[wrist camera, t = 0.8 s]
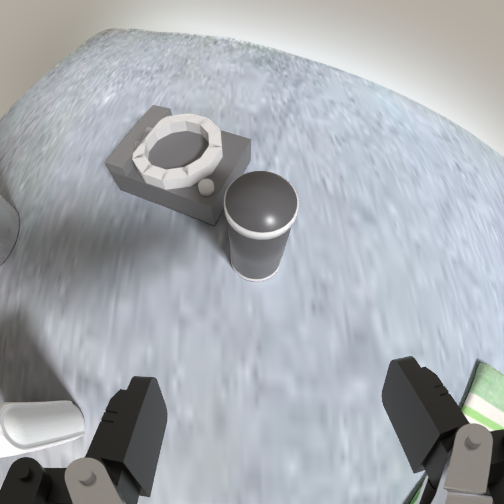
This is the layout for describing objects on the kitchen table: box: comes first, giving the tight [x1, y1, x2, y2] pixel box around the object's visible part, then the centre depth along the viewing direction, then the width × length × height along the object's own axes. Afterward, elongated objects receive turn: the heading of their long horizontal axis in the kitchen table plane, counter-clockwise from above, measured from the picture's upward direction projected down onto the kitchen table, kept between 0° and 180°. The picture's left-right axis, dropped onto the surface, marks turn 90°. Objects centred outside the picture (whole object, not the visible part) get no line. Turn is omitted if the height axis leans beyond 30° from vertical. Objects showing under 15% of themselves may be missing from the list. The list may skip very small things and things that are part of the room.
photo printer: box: [0, 400, 85, 457], centre depth 15 cm, size 10×4×12 cm, turn 114°
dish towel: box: [410, 362, 504, 504], centre depth 18 cm, size 18×23×3 cm
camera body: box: [105, 105, 251, 226], centre depth 30 cm, size 12×9×5 cm
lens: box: [224, 171, 299, 282], centre depth 24 cm, size 5×5×10 cm
